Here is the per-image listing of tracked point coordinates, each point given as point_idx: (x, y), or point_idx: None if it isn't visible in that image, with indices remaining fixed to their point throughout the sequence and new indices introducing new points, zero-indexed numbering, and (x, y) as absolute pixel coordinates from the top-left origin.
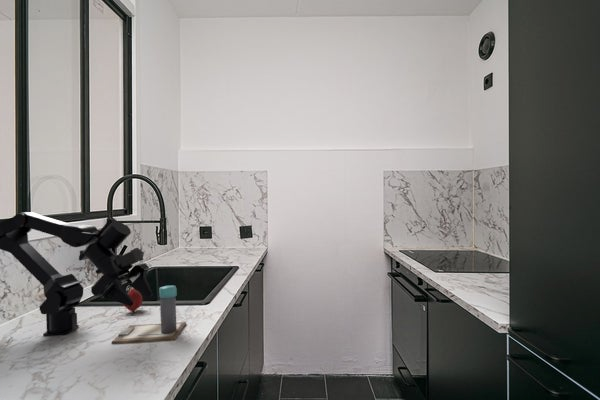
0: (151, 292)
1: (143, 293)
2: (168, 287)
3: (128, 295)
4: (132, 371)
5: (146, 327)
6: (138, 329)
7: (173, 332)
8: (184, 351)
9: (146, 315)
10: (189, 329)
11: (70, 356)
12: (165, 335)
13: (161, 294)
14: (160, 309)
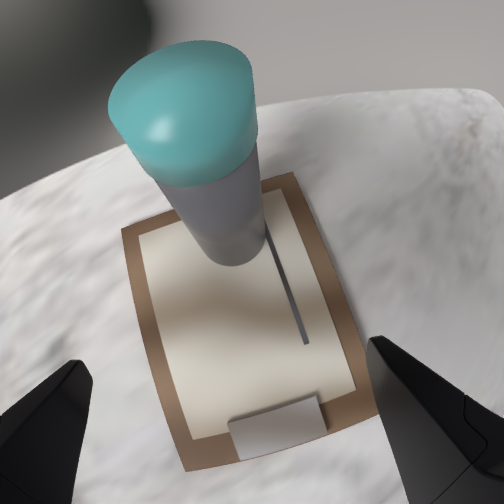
0: (66, 368)
1: (82, 441)
2: (185, 70)
3: (416, 388)
4: (490, 179)
5: (202, 373)
6: (233, 396)
7: None
8: (360, 112)
9: None
10: None
11: None
12: (283, 217)
13: (253, 120)
14: (247, 208)
